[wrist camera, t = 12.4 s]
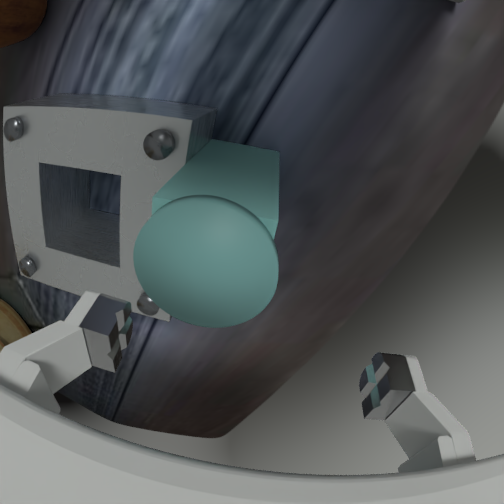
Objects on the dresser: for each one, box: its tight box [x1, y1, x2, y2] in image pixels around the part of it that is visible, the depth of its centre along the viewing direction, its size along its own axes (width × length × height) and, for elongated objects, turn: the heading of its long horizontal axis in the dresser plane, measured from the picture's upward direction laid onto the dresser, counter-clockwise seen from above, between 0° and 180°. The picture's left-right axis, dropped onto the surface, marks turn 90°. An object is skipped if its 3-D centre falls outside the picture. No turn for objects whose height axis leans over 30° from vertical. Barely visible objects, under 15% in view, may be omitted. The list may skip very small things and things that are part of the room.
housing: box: [3, 94, 217, 322], centre depth 21 cm, size 14×14×8 cm
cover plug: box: [133, 139, 279, 328], centre depth 18 cm, size 6×6×13 cm
